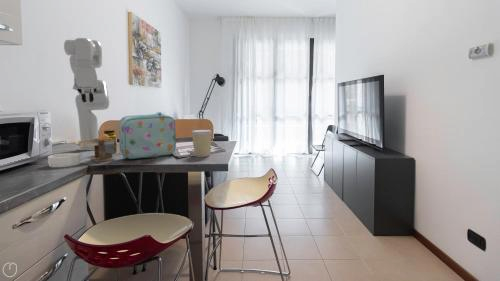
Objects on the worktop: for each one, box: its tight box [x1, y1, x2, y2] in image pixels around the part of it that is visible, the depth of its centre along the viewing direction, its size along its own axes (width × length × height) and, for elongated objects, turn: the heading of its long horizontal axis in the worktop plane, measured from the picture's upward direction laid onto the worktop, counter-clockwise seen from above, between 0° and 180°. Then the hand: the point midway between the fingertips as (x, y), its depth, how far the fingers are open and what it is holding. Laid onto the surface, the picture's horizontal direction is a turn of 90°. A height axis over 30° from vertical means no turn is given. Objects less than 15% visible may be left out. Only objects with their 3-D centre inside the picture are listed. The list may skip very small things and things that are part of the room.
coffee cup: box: [191, 129, 212, 158], centre depth 174 cm, size 9×9×12 cm
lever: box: [70, 138, 115, 154], centre depth 171 cm, size 17×15×7 cm
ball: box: [100, 133, 109, 140], centre depth 169 cm, size 4×4×4 cm
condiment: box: [103, 129, 121, 155], centre depth 189 cm, size 7×8×12 cm
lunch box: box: [118, 111, 177, 160], centre depth 174 cm, size 27×10×21 cm, turn 126°
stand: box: [90, 138, 115, 163], centre depth 169 cm, size 11×8×10 cm
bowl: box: [47, 152, 82, 169], centre depth 159 cm, size 12×12×4 cm
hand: (87, 101), depth 179 cm, fingers open, 2 cm apart
